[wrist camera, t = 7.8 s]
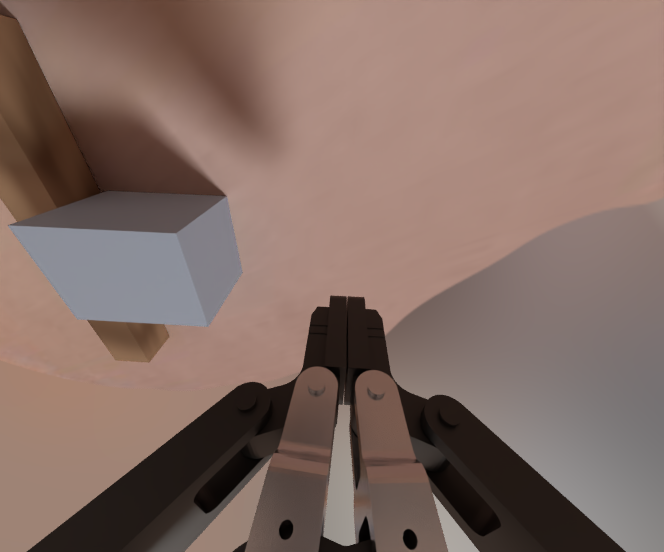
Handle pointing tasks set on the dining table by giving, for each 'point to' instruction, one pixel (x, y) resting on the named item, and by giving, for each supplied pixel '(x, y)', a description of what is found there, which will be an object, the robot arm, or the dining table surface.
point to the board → (50, 170)
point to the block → (137, 256)
